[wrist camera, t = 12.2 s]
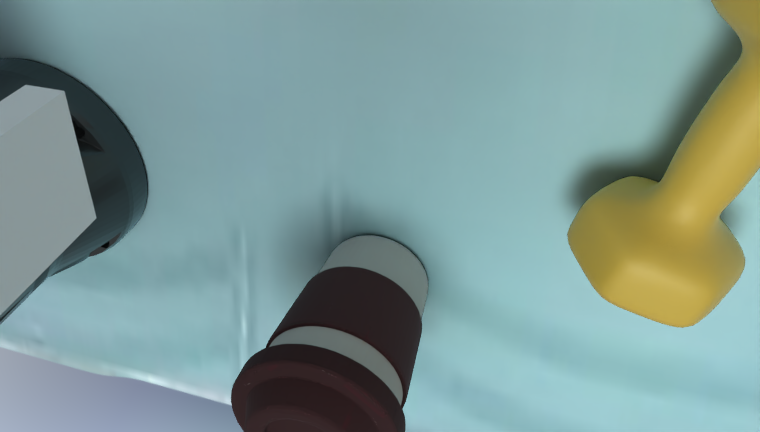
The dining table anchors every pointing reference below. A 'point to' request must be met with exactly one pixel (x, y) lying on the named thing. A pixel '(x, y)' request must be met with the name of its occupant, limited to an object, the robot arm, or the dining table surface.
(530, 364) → the dining table surface
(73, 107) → the robot arm
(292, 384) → the coffee cup
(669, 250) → the dumbbell
